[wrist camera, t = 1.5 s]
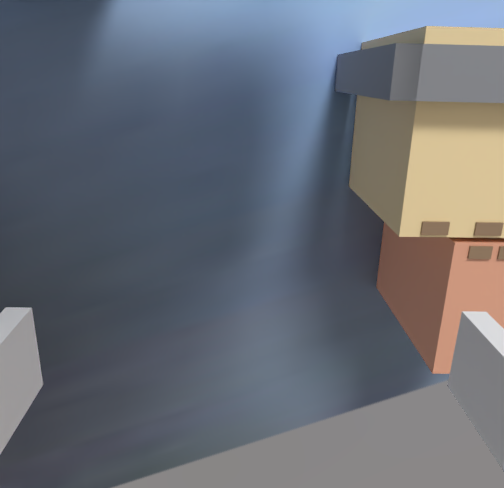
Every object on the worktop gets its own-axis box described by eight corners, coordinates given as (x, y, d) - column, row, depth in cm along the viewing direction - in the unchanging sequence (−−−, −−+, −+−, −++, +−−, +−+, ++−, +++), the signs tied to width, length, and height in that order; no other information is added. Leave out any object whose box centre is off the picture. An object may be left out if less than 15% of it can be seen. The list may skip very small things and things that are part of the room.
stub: (387, 190, 37) (456, 243, 25) (465, 192, 37) (568, 244, 25) (376, 287, 39) (433, 374, 28) (449, 287, 39) (535, 375, 28)
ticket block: (338, 42, 33) (398, 22, 21) (555, 48, 33) (739, 32, 21) (327, 185, 36) (373, 242, 24) (525, 189, 37) (669, 246, 25)
